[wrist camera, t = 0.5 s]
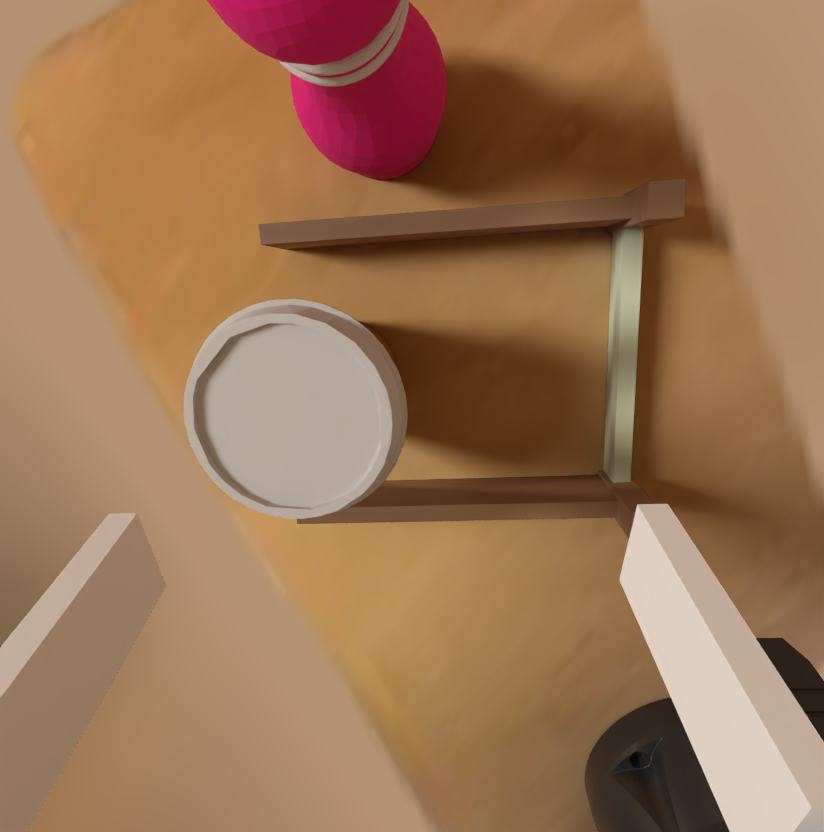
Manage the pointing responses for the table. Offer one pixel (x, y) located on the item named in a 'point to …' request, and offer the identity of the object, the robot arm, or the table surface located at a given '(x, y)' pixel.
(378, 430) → the disposable coffee cup
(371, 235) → the bay
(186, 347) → the table surface
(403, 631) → the table surface
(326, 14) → the pepper mill
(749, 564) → the table surface
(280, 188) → the table surface
